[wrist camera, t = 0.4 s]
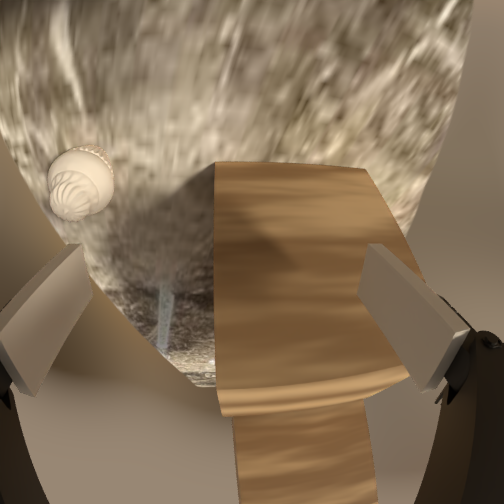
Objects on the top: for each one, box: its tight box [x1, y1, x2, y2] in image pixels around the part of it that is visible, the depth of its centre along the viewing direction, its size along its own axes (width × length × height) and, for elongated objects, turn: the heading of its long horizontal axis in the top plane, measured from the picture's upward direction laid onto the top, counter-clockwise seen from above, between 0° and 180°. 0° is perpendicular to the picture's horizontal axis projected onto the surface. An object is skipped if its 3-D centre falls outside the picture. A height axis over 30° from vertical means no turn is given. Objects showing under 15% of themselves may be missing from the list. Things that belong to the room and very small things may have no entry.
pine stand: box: [213, 162, 426, 504], centre depth 24 cm, size 26×14×33 cm, turn 176°
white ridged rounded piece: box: [47, 145, 114, 222], centre depth 19 cm, size 6×6×7 cm
